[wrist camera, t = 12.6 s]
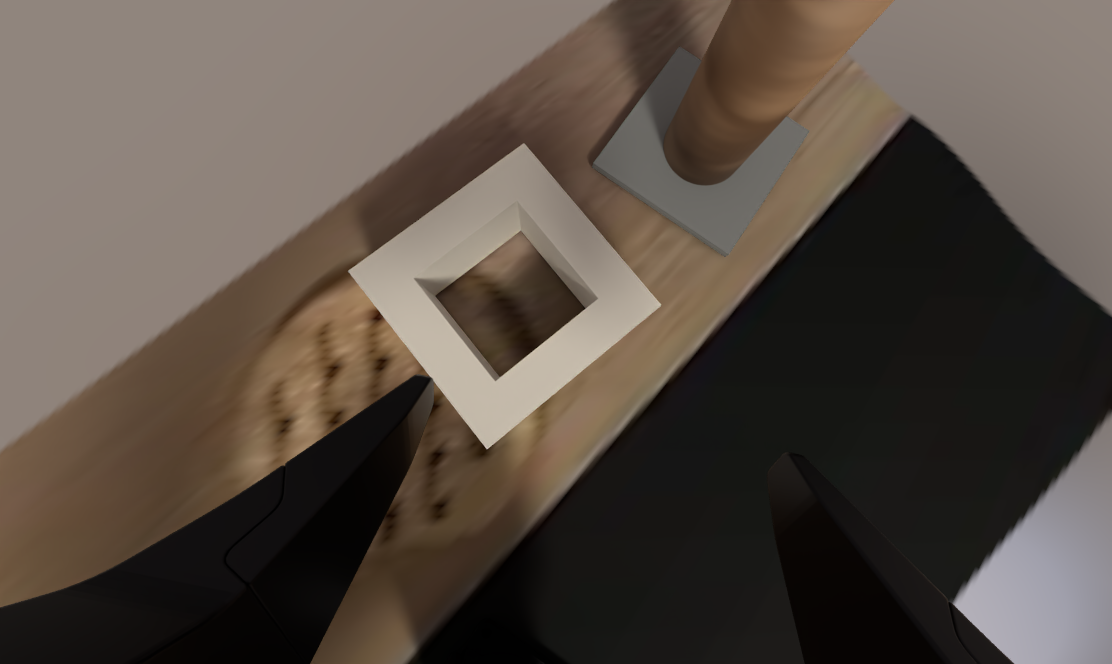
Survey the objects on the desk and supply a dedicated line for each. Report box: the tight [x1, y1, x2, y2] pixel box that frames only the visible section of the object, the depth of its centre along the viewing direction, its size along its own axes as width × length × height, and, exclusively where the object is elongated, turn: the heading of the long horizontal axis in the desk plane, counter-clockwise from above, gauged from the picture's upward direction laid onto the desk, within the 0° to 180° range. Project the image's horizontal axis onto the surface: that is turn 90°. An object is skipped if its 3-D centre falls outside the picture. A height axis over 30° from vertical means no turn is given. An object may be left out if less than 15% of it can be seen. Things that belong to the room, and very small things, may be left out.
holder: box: [348, 143, 661, 449], centre depth 21 cm, size 11×11×4 cm
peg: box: [663, 0, 894, 186], centre depth 18 cm, size 5×5×13 cm
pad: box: [592, 46, 809, 257], centre depth 25 cm, size 10×10×1 cm
